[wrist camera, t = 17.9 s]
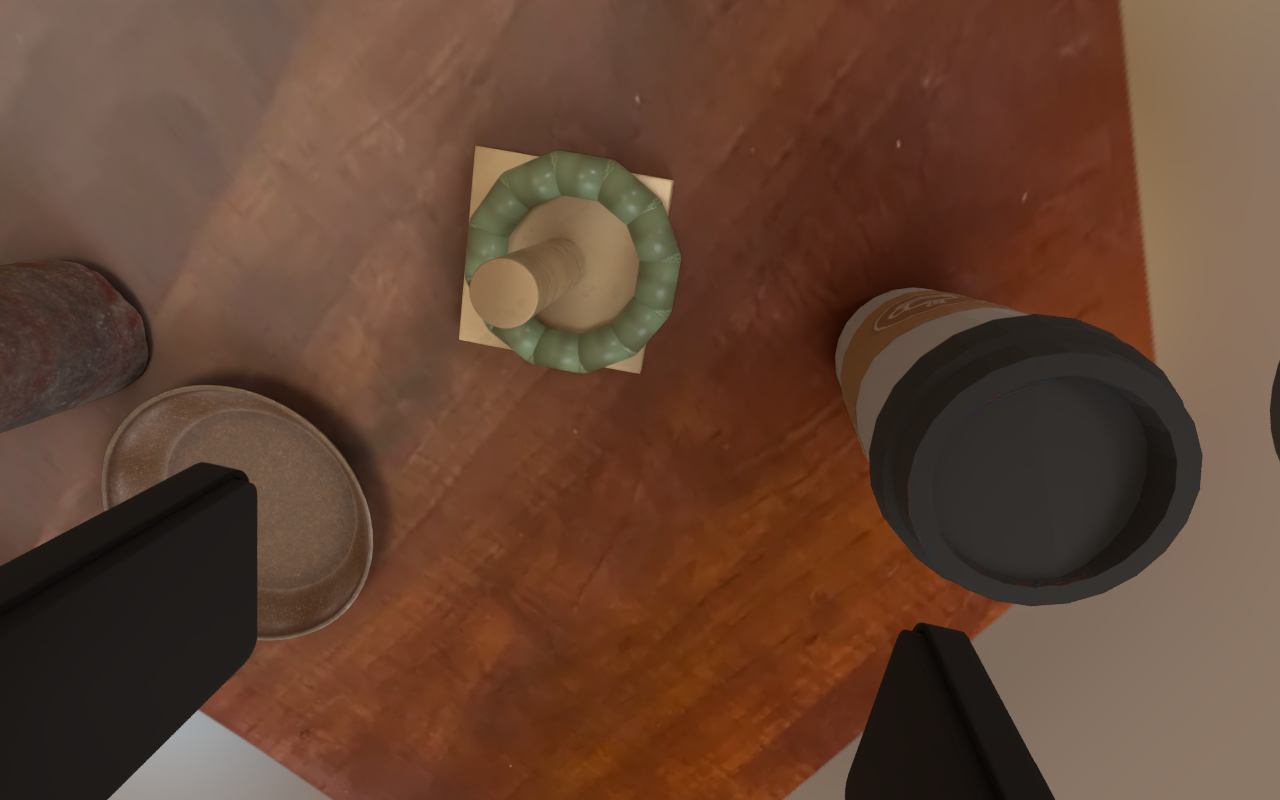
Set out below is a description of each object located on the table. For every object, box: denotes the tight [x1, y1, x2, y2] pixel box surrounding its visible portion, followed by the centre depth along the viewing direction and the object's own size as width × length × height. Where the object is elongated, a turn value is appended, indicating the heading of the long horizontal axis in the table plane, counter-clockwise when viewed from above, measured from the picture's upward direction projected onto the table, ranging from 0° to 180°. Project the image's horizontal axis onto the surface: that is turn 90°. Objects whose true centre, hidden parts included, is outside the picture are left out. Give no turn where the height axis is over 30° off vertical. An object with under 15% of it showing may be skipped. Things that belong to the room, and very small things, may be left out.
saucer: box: [101, 385, 373, 640], centre depth 37 cm, size 15×15×3 cm
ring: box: [465, 150, 681, 373], centre depth 31 cm, size 10×10×2 cm
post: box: [459, 146, 674, 374], centre depth 28 cm, size 9×9×10 cm
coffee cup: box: [835, 287, 1202, 606], centre depth 25 cm, size 8×8×15 cm
